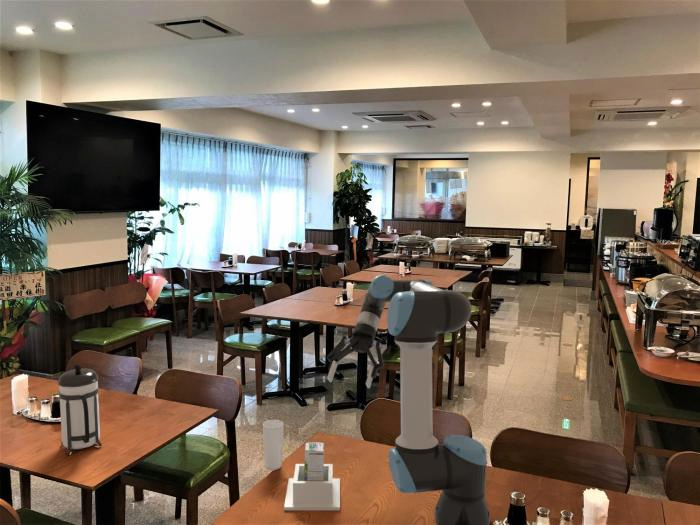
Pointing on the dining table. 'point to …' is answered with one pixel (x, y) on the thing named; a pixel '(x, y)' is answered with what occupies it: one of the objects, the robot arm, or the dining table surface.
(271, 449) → the drinking glass
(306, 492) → the holder
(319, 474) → the syrup box
